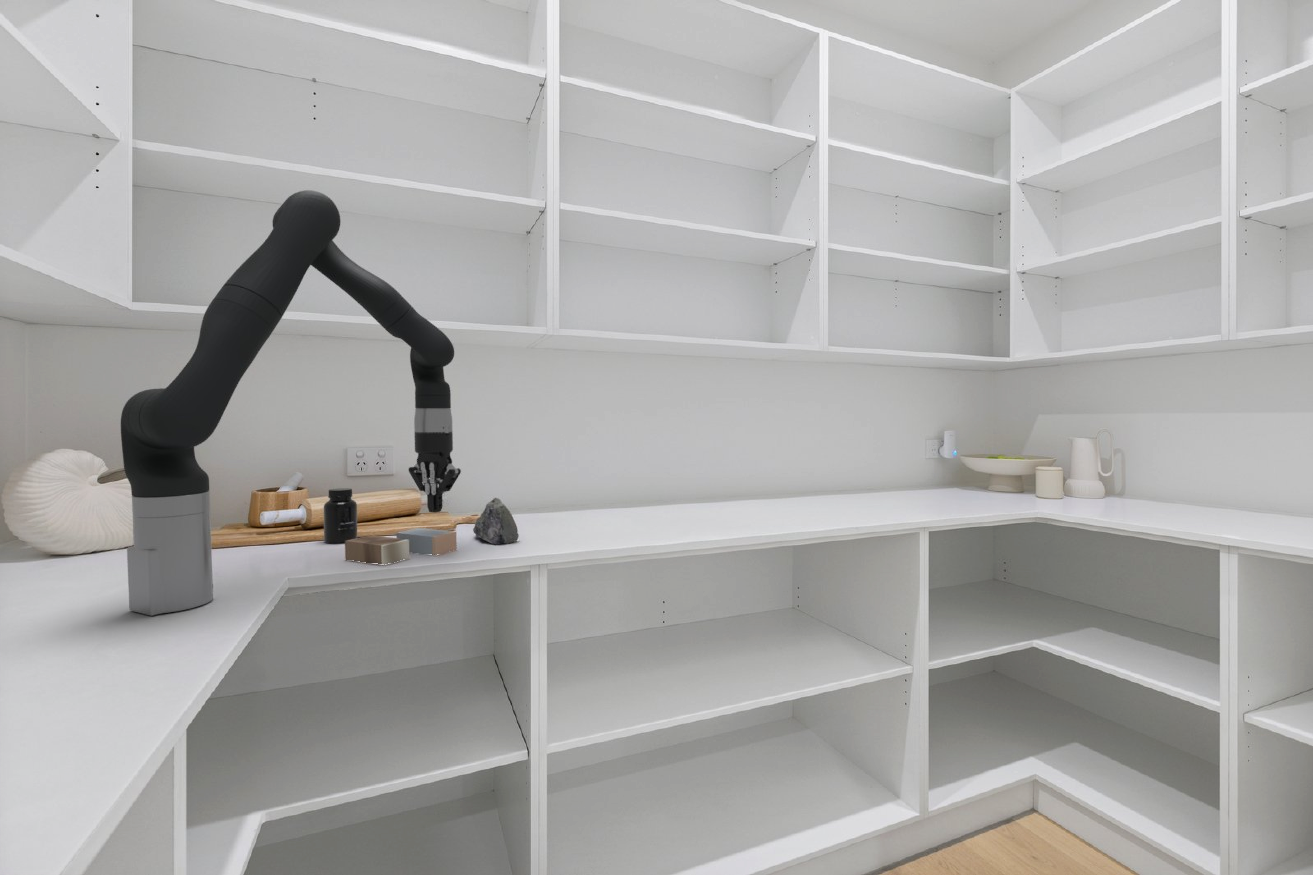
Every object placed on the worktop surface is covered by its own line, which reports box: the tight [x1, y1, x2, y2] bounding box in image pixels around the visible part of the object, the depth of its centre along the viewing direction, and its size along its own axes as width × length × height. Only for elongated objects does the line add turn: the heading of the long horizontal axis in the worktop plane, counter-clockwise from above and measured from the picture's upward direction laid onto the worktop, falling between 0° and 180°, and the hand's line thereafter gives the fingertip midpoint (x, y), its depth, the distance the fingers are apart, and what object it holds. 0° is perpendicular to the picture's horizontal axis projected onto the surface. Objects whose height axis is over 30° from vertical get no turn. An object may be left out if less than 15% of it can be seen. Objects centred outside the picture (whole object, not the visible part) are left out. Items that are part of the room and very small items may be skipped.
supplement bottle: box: [323, 487, 358, 545], centre depth 137 cm, size 7×7×12 cm
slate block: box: [395, 527, 458, 555], centre depth 127 cm, size 6×4×11 cm
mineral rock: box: [472, 497, 520, 545], centre depth 138 cm, size 13×11×10 cm
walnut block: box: [344, 534, 410, 565], centre depth 120 cm, size 6×4×11 cm
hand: (435, 511), depth 126 cm, fingers closed
